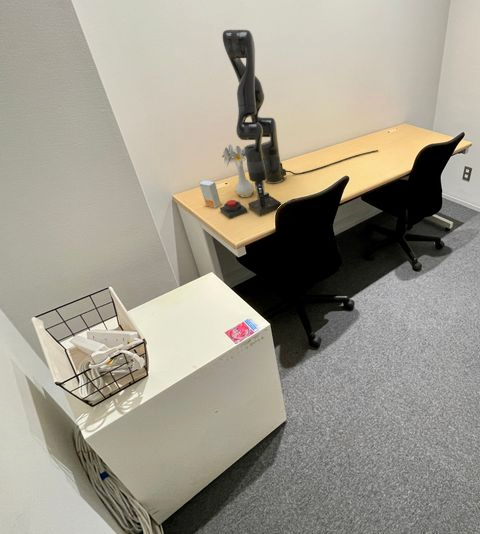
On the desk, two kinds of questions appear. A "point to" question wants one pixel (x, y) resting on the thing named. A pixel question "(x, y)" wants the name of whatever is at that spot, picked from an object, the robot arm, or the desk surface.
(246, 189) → the flower vase
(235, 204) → the button
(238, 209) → the button box
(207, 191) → the cosmetic box
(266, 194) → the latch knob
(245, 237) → the desk surface
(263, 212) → the rotary lever switch
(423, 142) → the desk surface
